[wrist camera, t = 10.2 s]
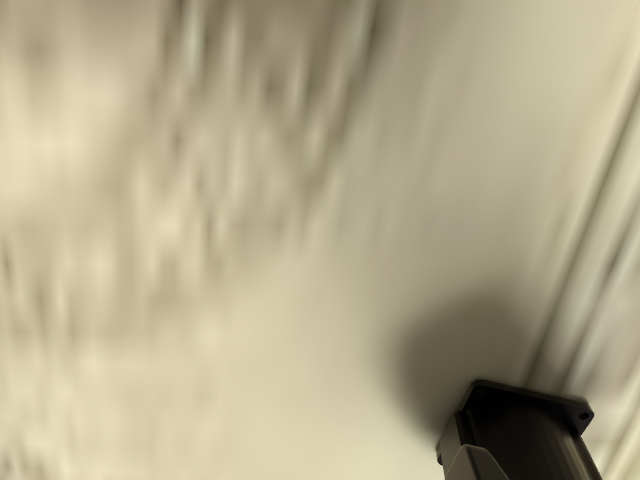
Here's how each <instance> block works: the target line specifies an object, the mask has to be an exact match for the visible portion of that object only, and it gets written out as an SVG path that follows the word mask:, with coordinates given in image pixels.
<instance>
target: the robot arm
mask: <svg viewBox="0 0 640 480" xmlns="http://www.w3.org/2000/svg"><path fill="white" fill-rule="evenodd" d="M479 389H483V390H481V391H478V390H479ZM593 417H594V413H593V411H592V409H591V407H590V406H589V405H588V404H585V403H581V402H577V401H572V400H568V399H563V398H559V397H555V396H550V395H546V394H542V393H537V392H533V391H528V390H524V389H520V388H515V387H511V386H507V385H502V384H498V383H493V382H489V381H485V380H476V381H474V382H472V384H471V385H470V387H469V389H468V391H467V393H466V395H465V397H464V399H463V401H462V403H461V405H460V407H459V409H458V410H456V411H455V412H454V413H453V415H452V417H451V419H450V421H449V423H448V425H447V427H446V429H445V431H444V433H443V435H442V437H441V439H440V441H439V445H440V447H439V449H438V451H437V454H436V455H437V461H438V463H439V464H440V465H442V466H443V469H444V475H445V480H602V478H601V476H600V474H599V472H598V469H597V467H596V465H595V463H594V461H593V459H592V457H591V455H590V453H589V451H588V449H587V447H586V445H585V443H584V441H583V439H582V437H581V435H582V433H583V432H584V431H585V429H586V428H587V426H588V425H589V423H590V422H591V421H592V419H593Z"/></svg>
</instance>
